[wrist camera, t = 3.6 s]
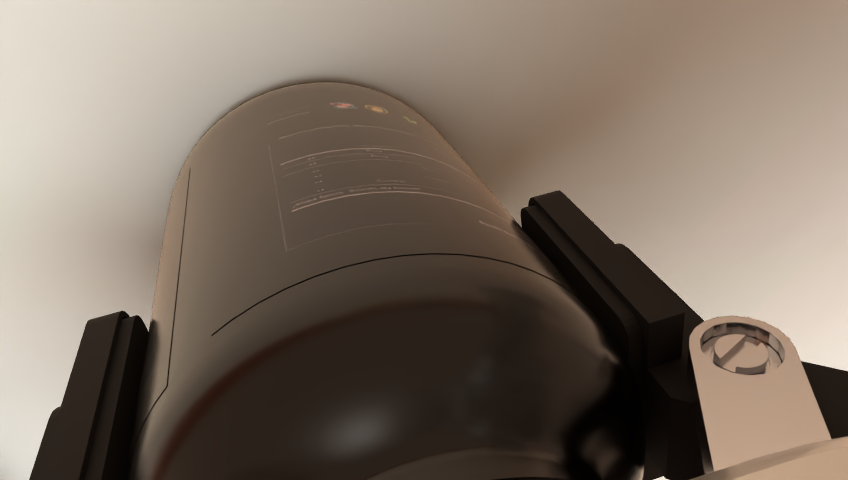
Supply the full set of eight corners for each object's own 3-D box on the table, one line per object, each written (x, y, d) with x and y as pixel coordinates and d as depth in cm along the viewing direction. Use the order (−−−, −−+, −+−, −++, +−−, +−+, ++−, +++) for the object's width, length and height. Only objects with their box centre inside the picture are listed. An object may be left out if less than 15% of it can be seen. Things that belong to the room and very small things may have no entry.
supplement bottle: (420, 338, 18) (661, 936, 8) (156, 320, 16) (26, 1143, 6) (497, 103, 15) (1034, 576, 5) (189, 36, 13) (41, 683, 3)
